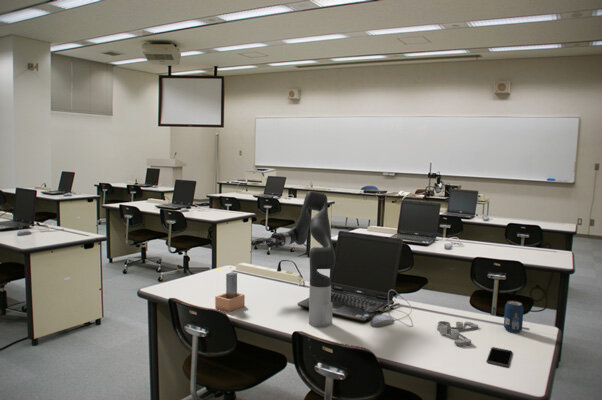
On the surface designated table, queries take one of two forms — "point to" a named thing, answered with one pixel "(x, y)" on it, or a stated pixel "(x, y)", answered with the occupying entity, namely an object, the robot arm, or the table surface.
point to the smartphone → (499, 357)
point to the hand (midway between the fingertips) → (261, 244)
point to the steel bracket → (231, 285)
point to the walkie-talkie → (391, 306)
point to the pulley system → (456, 331)
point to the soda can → (513, 316)
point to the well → (229, 302)
